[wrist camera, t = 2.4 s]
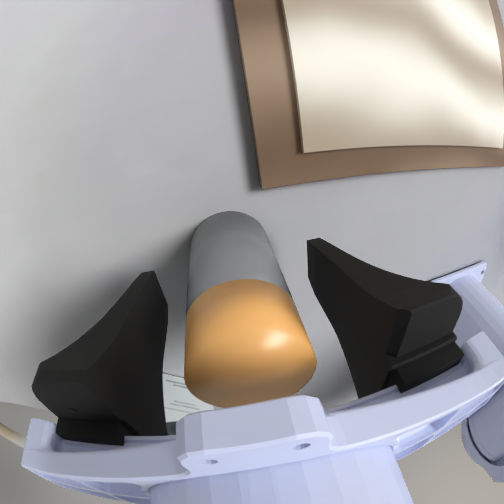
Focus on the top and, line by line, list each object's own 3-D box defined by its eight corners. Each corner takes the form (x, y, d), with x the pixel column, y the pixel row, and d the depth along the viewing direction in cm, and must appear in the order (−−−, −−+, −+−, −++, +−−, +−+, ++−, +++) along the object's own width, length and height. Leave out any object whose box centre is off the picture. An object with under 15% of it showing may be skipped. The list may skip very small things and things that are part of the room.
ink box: (184, 422, 24) (190, 527, 14) (137, 413, 22) (133, 522, 12) (214, 382, 21) (230, 523, 11) (154, 369, 19) (150, 519, 9)
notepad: (504, 163, 14) (512, 167, 13) (260, 185, 13) (263, 191, 12) (485, -17, 6) (493, -18, 5) (215, -88, 5) (216, -96, 4)
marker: (271, 270, 16) (314, 394, 9) (200, 284, 16) (204, 415, 9) (262, 204, 14) (318, 319, 7) (182, 220, 13) (164, 348, 7)
